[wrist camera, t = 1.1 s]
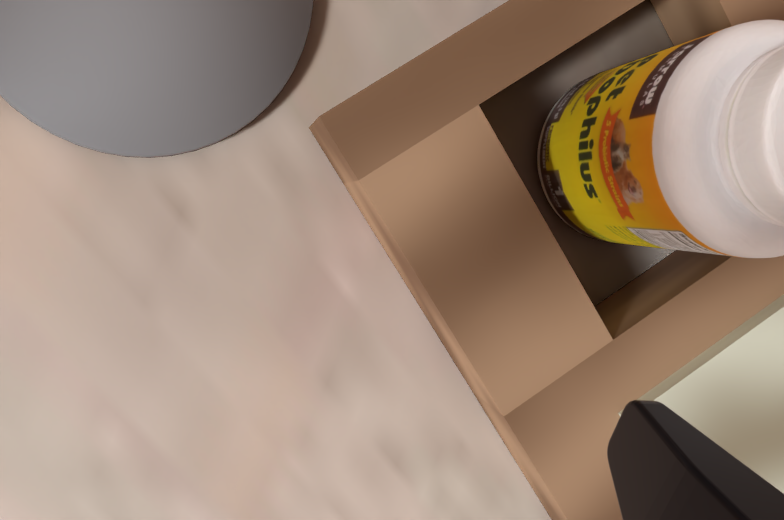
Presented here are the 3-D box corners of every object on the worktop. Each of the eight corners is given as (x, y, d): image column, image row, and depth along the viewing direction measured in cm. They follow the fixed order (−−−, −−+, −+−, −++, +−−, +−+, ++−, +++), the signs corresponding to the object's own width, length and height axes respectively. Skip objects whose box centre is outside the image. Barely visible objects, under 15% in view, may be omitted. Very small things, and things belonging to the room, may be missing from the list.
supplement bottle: (558, 50, 24) (781, -57, 14) (702, 107, 26) (1000, 45, 16) (507, 214, 24) (694, 220, 14) (653, 263, 26) (919, 300, 16)
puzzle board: (930, 438, 28) (1028, 471, 25) (640, 663, 27) (702, 733, 23) (666, -91, 25) (737, -141, 21) (309, 127, 23) (321, 113, 19)
